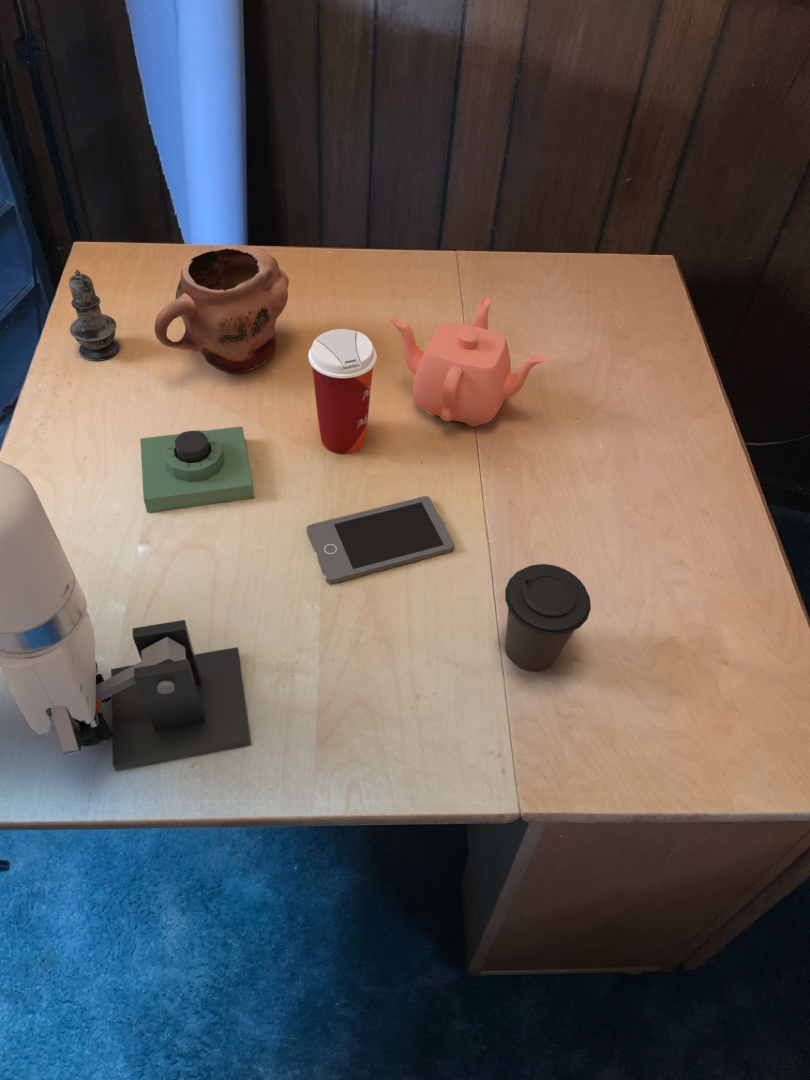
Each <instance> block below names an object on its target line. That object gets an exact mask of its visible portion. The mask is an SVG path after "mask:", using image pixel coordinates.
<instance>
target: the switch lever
mask: <svg viewBox="0 0 810 1080" xmlns="http://www.w3.org/2000/svg"><path fill="white" fill-rule="evenodd" d="M141 654H142V661H140V662H137V663H136V664H133V665H134V666H132V667H130V668H128V669H126V670H124V671H122V672H120V673H119V674H117V675H115V676H113V677H111V676H110V677H109V678H107V679H104V680H105V681H103V682H101V683H99V684H97V685H96V712H99V710H100V709H101V706H102V703H101V702H102V700H104V699H106V698H108V697H110V696H112V695H114V694H116V693H118V692H120V691H122V690H124V689H126V688H128V687H130V686H131V685H133V684H135V683H136V681H135V679H134V668H139V667H145V666H150V665H156V664H162V663H168V662H173V661H179V660H185V659H186V653H185V647H184V646H182V645H180V644H179V643H177V642H175V641H173V640H172V639H170V638H168V637H166V638H164V639H162V640H160V641H158V642H156V643H154V644H152V645H151V646H149V647H147V648H145V649H143V650H141Z"/></svg>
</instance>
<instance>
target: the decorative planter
mask: <svg viewBox="0 0 810 1080" xmlns="http://www.w3.org/2000/svg"><path fill="white" fill-rule="evenodd" d="M289 284H290V280H289V276H288V275H287V273H286V272H285V271H284V270H283V269H282V268H280V266H279V263H278V261H277V260H276V258H275V257H274V256H273V255H271V254H269V253H268V252H267V251H266V250H265V249H263V248H260V247H246V246H239V245H227V246H222V247H218V248H215V249H214V248H213V249H210V250H205V251H202V252H200V253H198V254H195V255H194V256H192V257H190V258H189V259H188V260H186V262H184V264H183V266H182V267H181V268H180V280H179V282H178V285H177V288H176V292H175V299H174V300H172V301H170V302H168V303H167V304H166V305H165V306H164V307H163V308H162V309H161V310H160V311H159V313H158V314H157V315H156V318H155V322H154V334H155V337H156V339H157V340H158V341H159V342H160V344H162V345H163V346H165V347H168V348H172V349H178V350H181V351H191V352H200V353H201V354H202V356H203V357H204V359H205V361H206V363H208V364H209V365H211V366H212V367H214V368H216V369H217V370H218V371H222V372H225V373H230V374H231V373H232V374H239V373H245V372H248V371H251V370H254V369H257V368H259V367H260V366H262V365H263V364H265V363H266V362H268V361H269V360H271V359H272V358H273V357H274V356H275V354H276V350H277V335H276V323H277V322H276V321H277V320H278V318H279V317H280V316H281V314H282V313H283V311H284V309H285V307H286V306H287V302H288V298H289V291H288V289H289ZM180 317H181V319H182V321H183V324H184V328H185V329H184V333H183V336H182V337H181V338H180V339H179V340H176V341H172V340H171V339H169V338H168V336H167V334H168V328H169V326H170V325H171V324H172V322H174V320H176V319H178V318H180Z"/></svg>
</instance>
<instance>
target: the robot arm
mask: <svg viewBox="0 0 810 1080" xmlns="http://www.w3.org/2000/svg"><path fill="white" fill-rule="evenodd" d="M87 609H88V608H87V599H86V596H85V593H84V591H83V590H82V587H81V585H80V583H79V580H78V579H77V577H76V574H75V572H74V571H73V567H72V566H71V564H70V561H69V560H68V557H67V555H66V553H65V551H64V549H63V547H62V544H61V542H60V540H59V537H58V536H57V534H56V531H55V530H54V527H53V525H52V524H51V521H50V518H49V516H48V514H47V512H46V510H45V508H44V506H43V504H42V501H41V500H40V497H39V495H38V493H37V491H36V490H35V487H34V486H33V484H32V482H31V481H30V480H29V478H28V477H27V476H26V475H25V474H24V473H23V472H22V471H21V470H19V469H18V468H16V467H15V466H13V465H11V464H9V463H6V462H3V461H1V460H0V668H1V671H2V674H3V677H4V680H5V682H6V684H7V686H8V689H9V690H10V693H11V695H12V696H13V698H14V701H15V703H16V704H17V706H18V708H19V710H20V711H21V713H22V715H23V717H24V719H25V721H26V722H27V724H28V725H29V727H30V728H31V729H32V730H33V731H34V733H35V734H38V735H43V734H49V732H50V730H51V725H52V721H53V724H54V728H55V730H56V732H57V738H58V741H59V744H60V747H61V750H62V753H63V755H64V756H66V755H70V754H76V753H79V752H81V751H82V749H83V748H82V747H92V746H97V745H99V744H100V743H101V742H103V741H108V740H112V728H111V727H110V725H109V724H108V722H107V720H106V718H105V716H104V714H103V713H102V712H100V711H98V712H96V685H97V684H99V683H101V682H103V681H105V680H106V679H105V678H104V676H103V675H102V673H99V666H98V662H97V660H96V638H95V637H96V636H95V630H94V626H93V622H92V620H91V617H90V614H89V613H88V611H87ZM111 701H112V699H111V696H110V697H108V698H106V699H104V700H102V702H101V704H105V703H109V702H111Z"/></svg>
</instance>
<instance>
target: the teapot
mask: <svg viewBox="0 0 810 1080" xmlns="http://www.w3.org/2000/svg"><path fill="white" fill-rule="evenodd" d="M490 307H491V298H490V296H484V297H483V298H482V299H481V300H480V303H479V305H478V309H477V311H476V314H475V316H474V319H473V321H472V323H471V324H466V323H459V322H448V321H447V322H443V323H441V324H440V325H439V326H438V327H437V329H436V330H435V332H434V333H433V334H432V337H431V338H430V340H429V342H428V344H427V346H426V348H425V350H424V351H423V350H422V349H420V347H419V346H418V345H417V343H416V339H415V334H414V331H413V329H412V328H411V327H410V325H409V324H407V323H406V322H404V321H402V320H400V319H397V318H391V319H390V321H389V322H390V323H391V324H392V325H393V326H394V327H395V328H396V329H397V330H398V331H399V333H400V334H401V338H402V343H403V355H404V362H405V364H406V366H407V368H408V369H409V371H410V372H411V373H412V374H413V375H414V379H413V383H412V397H413V399H414V401H415V403H416V404H417V406H418V407H419V408H421V409H422V410H424V411H425V412H426V414H428V415H429V416H433V417H437V416H438V417H440V419H441V420H442V421H444V422H450V421H455V422H461V423H465V424H466V425H468V426H470V427H478V426H480V425H484V424H488V423H489V422H491V421H492V420H493V419H494V418H495V416H496V415H497V414H498V412H499V411H500V409H501V407H502V406H503V404H504V401H505V399H507V398H511V397H513V396H515V395H516V394H518V392H520V391H521V389H522V388H523V387H524V384H525V383H526V380H527V378H528V375H529V373H530V371H531V370H532V369H533V367H535V366H536V365H538V364H541V363H545V362H547V361H548V360H549V358H548V357H546V356H543V355H531V356H530V355H529V356H527V357H525V358H524V359H523V360H522V361H521V363H520V365H519V367H518V369H517V371H516V372H513V373H512V371H511V370H512V366H511V365H512V364H511V355H510V349H509V345H508V341H507V339H506V338H505V337H504V336H503V335H501V334H499V333H497V332H494V331H492V330H489V310H490Z"/></svg>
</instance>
